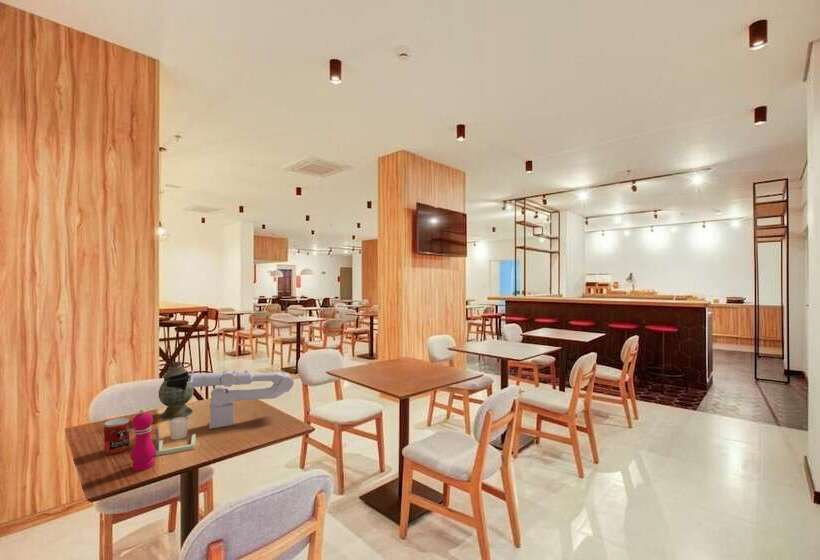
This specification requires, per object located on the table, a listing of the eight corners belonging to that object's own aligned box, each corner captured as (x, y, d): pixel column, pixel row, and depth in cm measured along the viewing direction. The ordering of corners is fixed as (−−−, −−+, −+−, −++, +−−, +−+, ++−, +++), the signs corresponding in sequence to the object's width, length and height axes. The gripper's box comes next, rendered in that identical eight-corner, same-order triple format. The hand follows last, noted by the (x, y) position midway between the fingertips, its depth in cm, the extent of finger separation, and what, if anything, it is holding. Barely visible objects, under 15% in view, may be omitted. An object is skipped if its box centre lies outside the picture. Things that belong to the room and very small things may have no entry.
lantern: (152, 419, 180) (151, 365, 179) (171, 408, 194) (170, 358, 194) (182, 419, 179) (181, 365, 179) (199, 408, 194) (198, 358, 193)
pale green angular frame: (195, 437, 160) (195, 413, 159) (194, 448, 149) (193, 422, 149) (152, 444, 153) (152, 419, 153) (148, 457, 142) (147, 430, 142)
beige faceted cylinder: (179, 440, 157) (179, 423, 157) (165, 439, 158) (164, 422, 158) (192, 433, 164) (192, 417, 163) (178, 432, 165) (178, 416, 165)
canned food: (110, 456, 143) (109, 426, 143) (100, 451, 148) (100, 422, 147) (133, 448, 150) (133, 420, 150) (124, 443, 154) (123, 416, 154)
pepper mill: (138, 462, 139) (137, 406, 139) (160, 461, 140) (159, 405, 139) (125, 472, 132) (124, 413, 132) (148, 471, 132) (147, 412, 132)
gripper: (205, 367, 177) (170, 368, 171) (204, 374, 164) (166, 376, 158) (204, 382, 177) (169, 384, 171) (203, 391, 164) (165, 393, 158)
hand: (167, 381), depth 164 cm, fingers open, 7 cm apart
